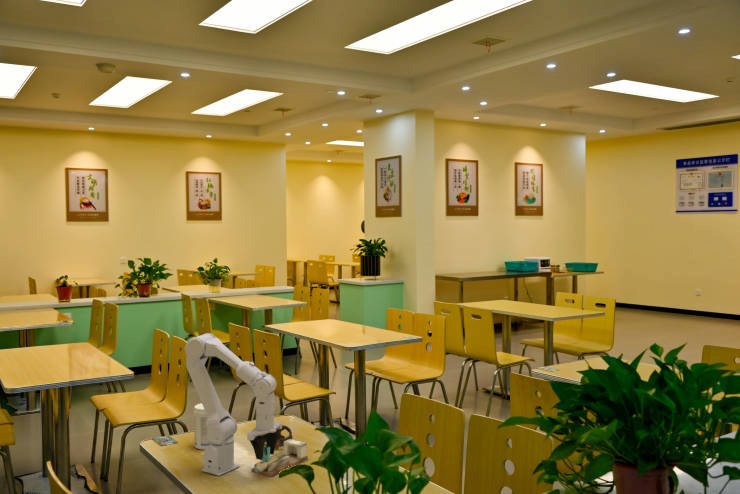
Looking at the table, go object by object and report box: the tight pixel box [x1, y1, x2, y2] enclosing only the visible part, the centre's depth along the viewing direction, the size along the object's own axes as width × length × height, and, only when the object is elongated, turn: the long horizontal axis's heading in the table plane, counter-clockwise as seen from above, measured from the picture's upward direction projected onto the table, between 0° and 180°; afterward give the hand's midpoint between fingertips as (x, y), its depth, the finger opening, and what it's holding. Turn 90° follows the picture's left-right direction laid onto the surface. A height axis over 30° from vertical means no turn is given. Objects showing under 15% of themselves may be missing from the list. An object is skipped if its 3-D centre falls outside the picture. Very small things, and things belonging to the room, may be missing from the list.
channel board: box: [251, 453, 309, 478], centre depth 210 cm, size 19×8×3 cm, turn 148°
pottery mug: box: [261, 424, 294, 450], centre depth 230 cm, size 12×10×8 cm
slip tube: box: [253, 444, 286, 474], centre depth 206 cm, size 12×3×7 cm, turn 148°
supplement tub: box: [193, 402, 211, 451], centre depth 228 cm, size 10×10×15 cm
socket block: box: [283, 439, 308, 459], centre depth 217 cm, size 3×7×4 cm, turn 58°
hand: (265, 456), depth 204 cm, fingers open, 5 cm apart
